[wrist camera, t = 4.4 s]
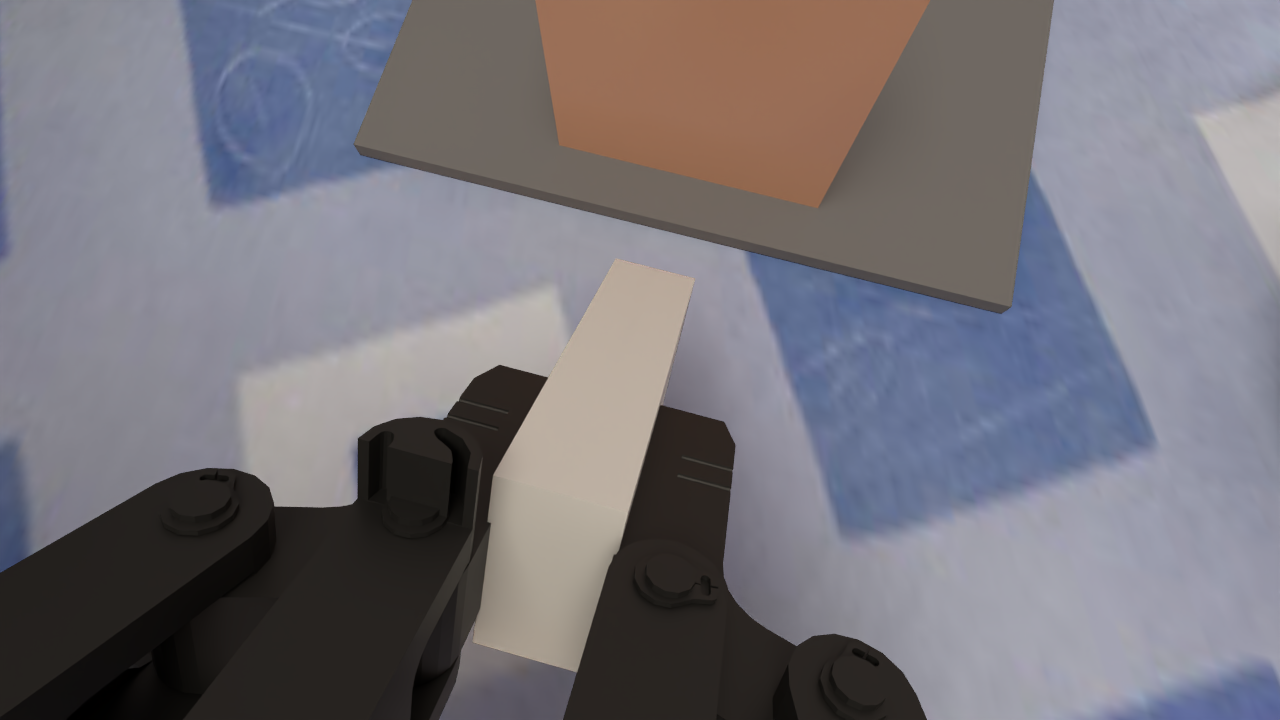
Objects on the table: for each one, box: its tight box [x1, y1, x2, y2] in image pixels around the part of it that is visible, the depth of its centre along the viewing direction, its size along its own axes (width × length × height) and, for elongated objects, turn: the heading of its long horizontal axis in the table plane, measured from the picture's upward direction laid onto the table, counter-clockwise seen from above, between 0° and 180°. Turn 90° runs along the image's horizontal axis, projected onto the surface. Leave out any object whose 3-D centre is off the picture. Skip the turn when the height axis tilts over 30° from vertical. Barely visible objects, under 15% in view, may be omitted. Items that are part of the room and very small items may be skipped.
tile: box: [535, 0, 930, 208], centre depth 18 cm, size 2×8×10 cm, turn 75°
